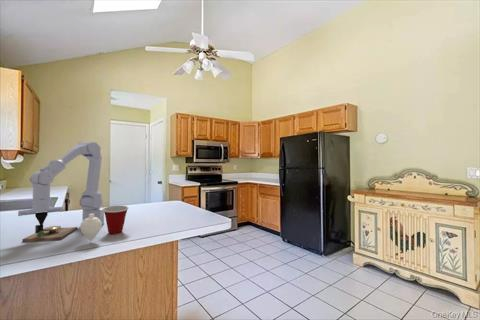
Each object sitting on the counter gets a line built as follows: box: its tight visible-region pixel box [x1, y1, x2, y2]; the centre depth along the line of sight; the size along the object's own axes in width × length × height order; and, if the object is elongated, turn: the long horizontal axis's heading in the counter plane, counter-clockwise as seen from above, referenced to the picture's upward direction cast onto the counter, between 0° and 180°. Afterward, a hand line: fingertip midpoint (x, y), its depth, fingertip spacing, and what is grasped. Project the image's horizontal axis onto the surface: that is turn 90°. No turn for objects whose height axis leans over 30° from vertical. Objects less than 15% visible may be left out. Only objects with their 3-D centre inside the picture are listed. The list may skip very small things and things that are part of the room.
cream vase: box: [79, 214, 103, 243], centre depth 97 cm, size 8×8×12 cm
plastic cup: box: [102, 205, 129, 235], centre depth 111 cm, size 11×11×12 cm
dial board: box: [21, 226, 79, 243], centre depth 106 cm, size 14×16×3 cm
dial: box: [34, 224, 62, 234], centre depth 104 cm, size 10×6×3 cm, turn 161°
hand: (41, 230), depth 101 cm, fingers closed, pressing on dial
